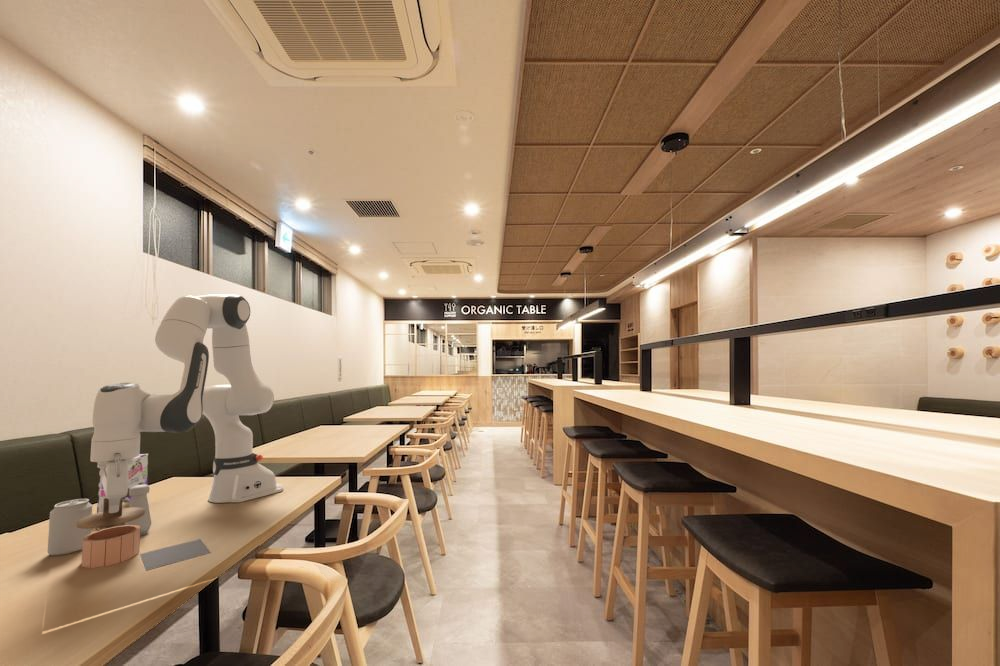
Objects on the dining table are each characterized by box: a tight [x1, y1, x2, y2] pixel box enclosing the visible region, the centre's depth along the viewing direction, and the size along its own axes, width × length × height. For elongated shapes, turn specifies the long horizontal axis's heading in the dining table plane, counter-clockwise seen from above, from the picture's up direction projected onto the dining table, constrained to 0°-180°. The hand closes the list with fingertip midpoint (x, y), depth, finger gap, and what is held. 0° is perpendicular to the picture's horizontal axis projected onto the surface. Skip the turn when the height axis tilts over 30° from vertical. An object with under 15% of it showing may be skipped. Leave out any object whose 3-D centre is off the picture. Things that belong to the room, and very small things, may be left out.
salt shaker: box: [125, 484, 152, 537], centre depth 116 cm, size 6×6×13 cm
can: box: [47, 498, 93, 557], centre depth 106 cm, size 8×8×12 cm
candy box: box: [96, 453, 149, 513], centre depth 137 cm, size 14×6×16 cm, turn 9°
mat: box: [139, 538, 212, 571], centre depth 102 cm, size 12×12×1 cm
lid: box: [77, 497, 145, 530], centre depth 101 cm, size 12×12×5 cm
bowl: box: [81, 525, 141, 569], centre depth 101 cm, size 10×10×6 cm
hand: (112, 510), depth 101 cm, fingers closed on lid, 3 cm apart
